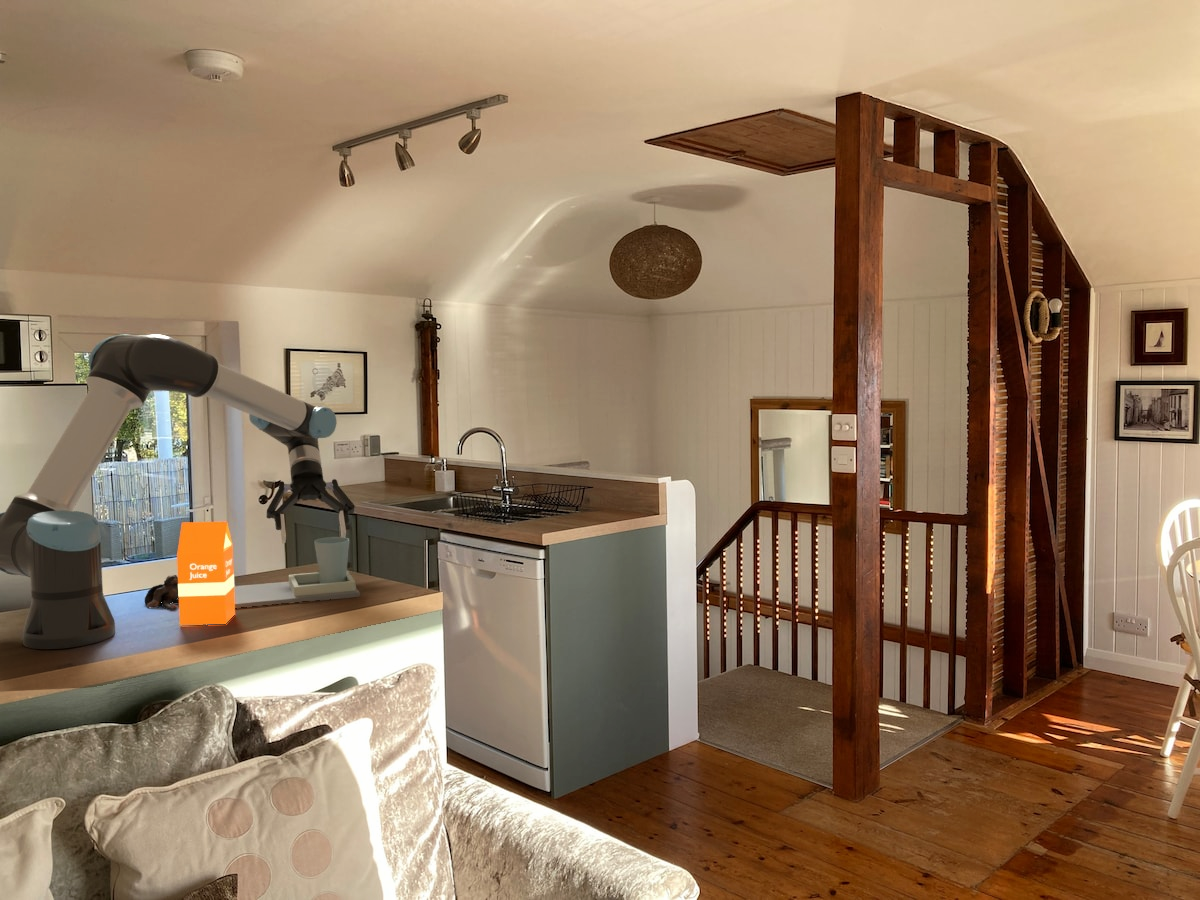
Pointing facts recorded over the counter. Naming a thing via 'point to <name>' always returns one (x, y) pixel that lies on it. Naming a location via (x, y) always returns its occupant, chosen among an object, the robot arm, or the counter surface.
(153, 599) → the stuffed animal
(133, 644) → the counter surface
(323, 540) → the cup
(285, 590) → the board
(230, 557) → the orange juice
